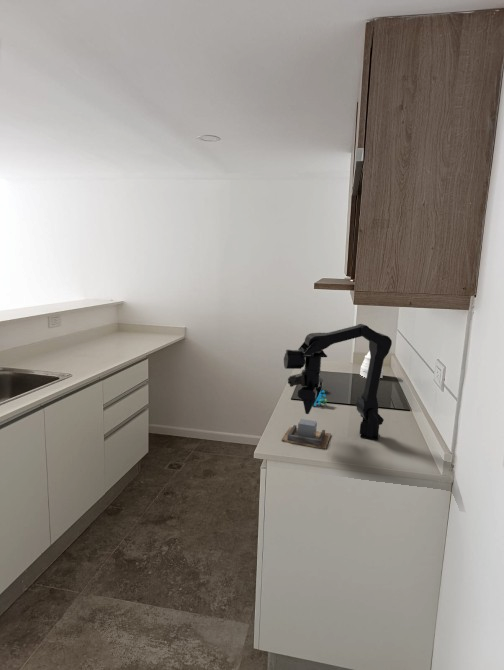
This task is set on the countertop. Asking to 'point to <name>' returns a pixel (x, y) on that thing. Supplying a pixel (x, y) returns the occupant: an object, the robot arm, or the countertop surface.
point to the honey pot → (367, 366)
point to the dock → (318, 441)
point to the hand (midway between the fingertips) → (309, 409)
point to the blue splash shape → (320, 399)
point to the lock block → (307, 428)
